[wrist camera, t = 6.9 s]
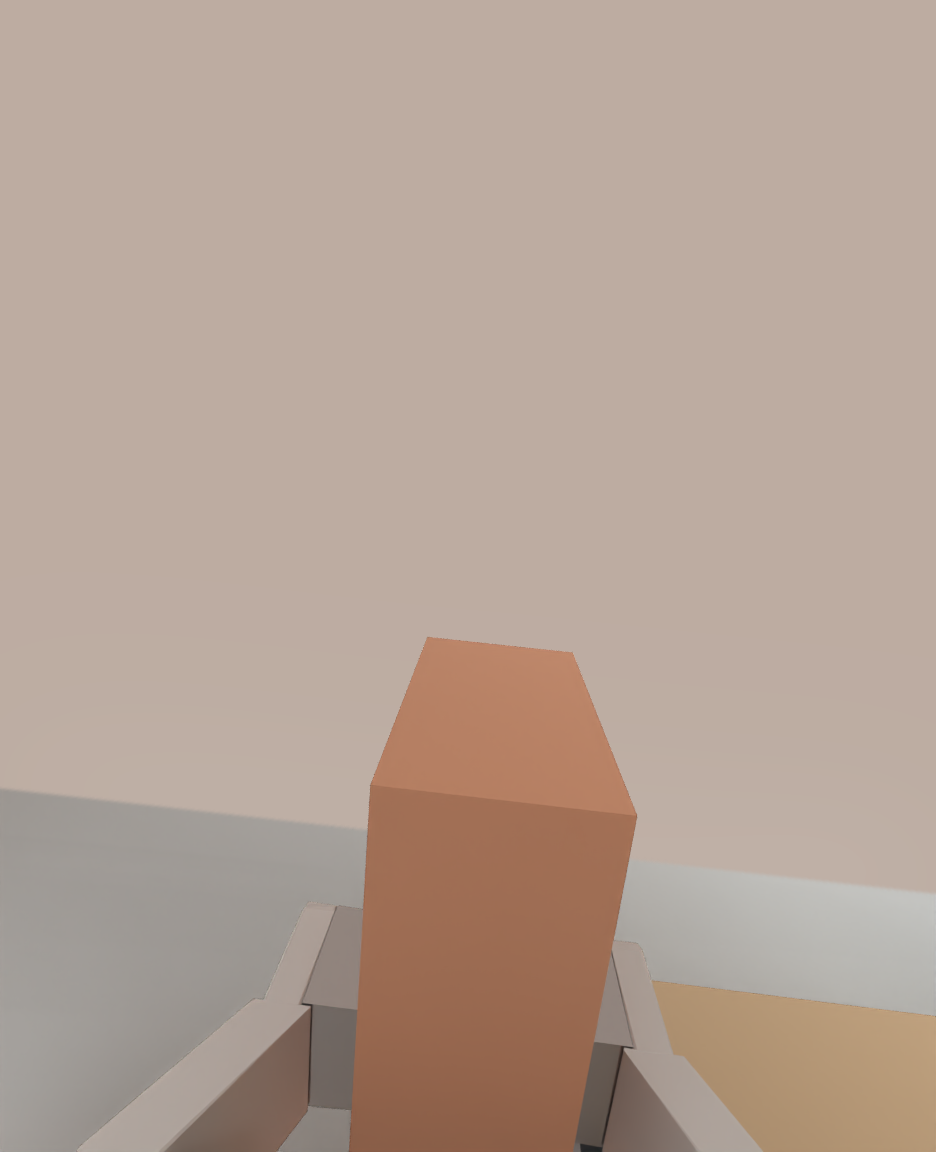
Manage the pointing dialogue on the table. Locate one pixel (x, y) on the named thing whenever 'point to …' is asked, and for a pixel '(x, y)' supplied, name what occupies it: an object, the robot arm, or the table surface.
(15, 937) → the table surface
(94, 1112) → the table surface
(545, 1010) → the tray
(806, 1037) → the sleeve
